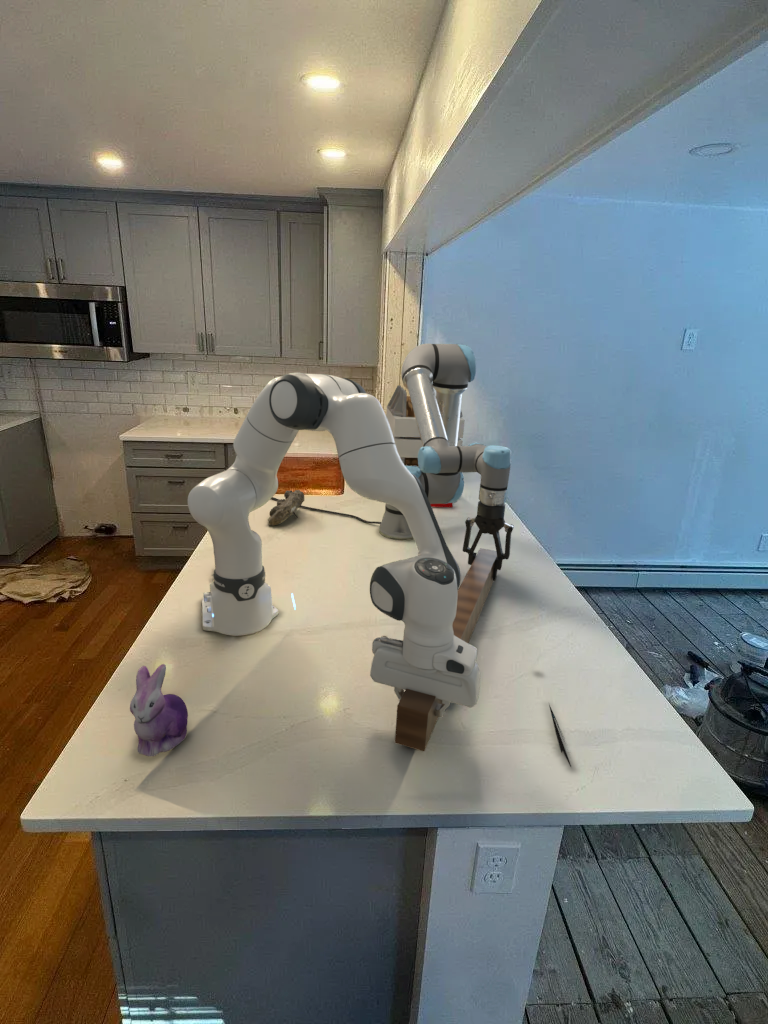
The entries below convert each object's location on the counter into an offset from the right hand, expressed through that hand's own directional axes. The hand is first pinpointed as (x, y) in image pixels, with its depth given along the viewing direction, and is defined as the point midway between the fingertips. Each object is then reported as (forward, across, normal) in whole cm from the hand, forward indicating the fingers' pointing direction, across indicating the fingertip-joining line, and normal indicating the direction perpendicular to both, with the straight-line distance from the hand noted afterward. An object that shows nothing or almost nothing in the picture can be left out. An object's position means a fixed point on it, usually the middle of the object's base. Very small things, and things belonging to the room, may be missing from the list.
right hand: (483, 576), depth 165 cm
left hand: (-2, 0, -66) cm, 66 cm away
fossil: (+3, -77, +24) cm, 81 cm away
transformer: (+3, -50, +105) cm, 116 cm away
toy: (+3, -32, +73) cm, 80 cm away
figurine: (+2, -42, -86) cm, 96 cm away
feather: (+2, +23, -53) cm, 58 cm away
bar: (+1, 0, -33) cm, 33 cm away
